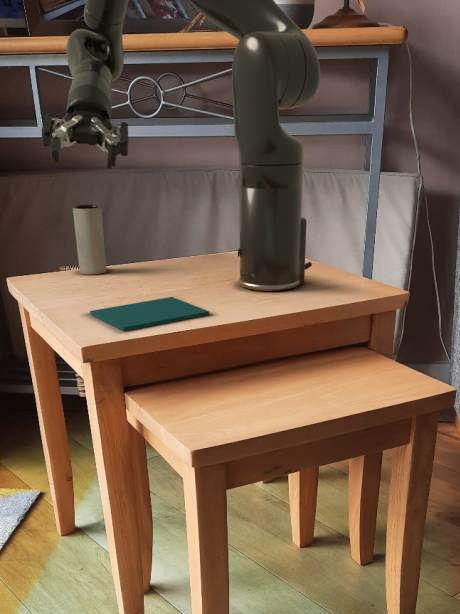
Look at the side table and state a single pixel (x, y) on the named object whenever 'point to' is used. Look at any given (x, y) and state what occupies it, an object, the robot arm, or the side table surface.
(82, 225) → the planter
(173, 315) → the towel
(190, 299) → the side table surface
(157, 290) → the side table surface
